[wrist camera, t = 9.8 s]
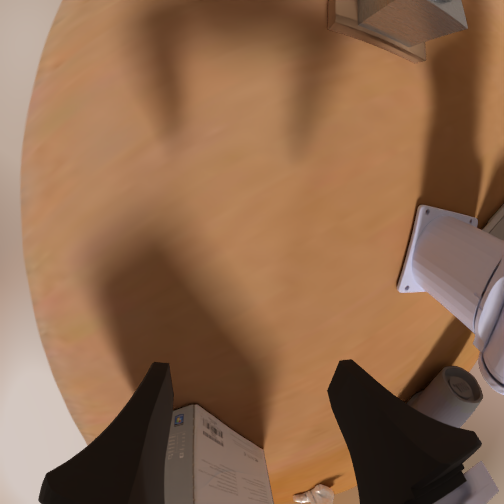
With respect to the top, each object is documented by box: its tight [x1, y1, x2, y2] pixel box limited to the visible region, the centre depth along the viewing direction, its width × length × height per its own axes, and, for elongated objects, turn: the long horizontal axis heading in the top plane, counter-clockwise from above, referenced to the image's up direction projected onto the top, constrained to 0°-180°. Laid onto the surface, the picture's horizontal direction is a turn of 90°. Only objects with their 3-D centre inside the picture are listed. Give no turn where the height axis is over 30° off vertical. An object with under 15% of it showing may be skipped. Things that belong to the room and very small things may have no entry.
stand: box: [328, 0, 426, 63], centre depth 12 cm, size 8×9×2 cm
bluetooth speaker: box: [406, 366, 483, 428], centre depth 27 cm, size 23×9×10 cm, turn 165°
